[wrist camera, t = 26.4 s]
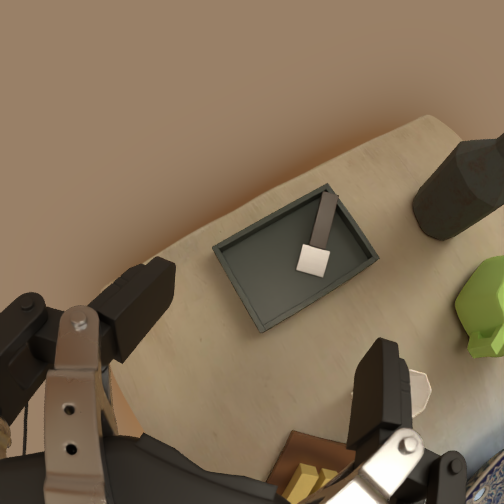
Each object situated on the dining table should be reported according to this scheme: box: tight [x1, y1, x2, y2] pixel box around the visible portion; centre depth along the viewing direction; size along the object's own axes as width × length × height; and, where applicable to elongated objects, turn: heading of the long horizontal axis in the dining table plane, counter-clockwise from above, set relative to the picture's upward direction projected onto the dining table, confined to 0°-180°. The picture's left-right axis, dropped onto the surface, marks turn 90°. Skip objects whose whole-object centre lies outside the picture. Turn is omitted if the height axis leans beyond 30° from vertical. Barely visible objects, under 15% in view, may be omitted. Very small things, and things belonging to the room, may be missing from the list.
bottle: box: [413, 133, 504, 241], centre depth 28 cm, size 10×10×30 cm
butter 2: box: [307, 468, 338, 497], centre depth 30 cm, size 9×2×4 cm, turn 159°
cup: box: [351, 369, 432, 418], centre depth 32 cm, size 7×10×8 cm
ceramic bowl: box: [465, 449, 504, 504], centre depth 22 cm, size 34×34×10 cm
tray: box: [212, 183, 380, 333], centre depth 41 cm, size 20×14×3 cm
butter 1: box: [282, 463, 319, 504], centre depth 30 cm, size 9×2×4 cm, turn 159°
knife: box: [296, 191, 339, 278], centre depth 41 cm, size 4×2×12 cm
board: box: [266, 430, 356, 496], centre depth 32 cm, size 18×12×1 cm, turn 159°
